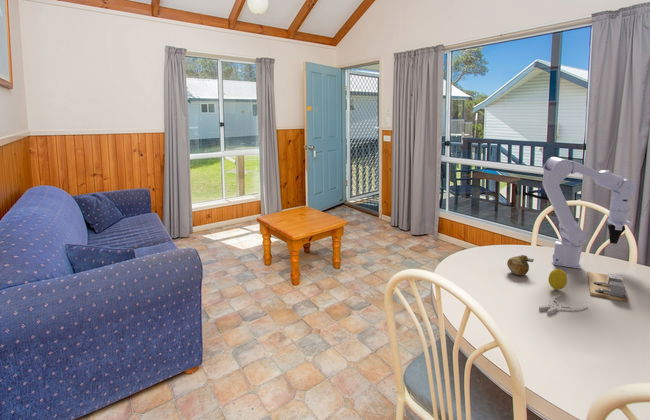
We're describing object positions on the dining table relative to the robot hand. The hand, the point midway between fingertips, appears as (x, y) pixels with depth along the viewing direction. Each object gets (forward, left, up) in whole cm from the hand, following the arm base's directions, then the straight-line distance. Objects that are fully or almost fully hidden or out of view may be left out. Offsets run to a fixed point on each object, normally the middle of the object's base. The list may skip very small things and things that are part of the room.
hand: (613, 243), depth 156 cm
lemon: (-18, -35, -10) cm, 41 cm away
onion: (-31, -26, -10) cm, 42 cm away
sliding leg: (-2, -25, -8) cm, 27 cm away
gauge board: (-3, -24, -9) cm, 26 cm away
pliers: (-17, -48, -10) cm, 52 cm away
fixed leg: (-2, -32, -8) cm, 33 cm away
